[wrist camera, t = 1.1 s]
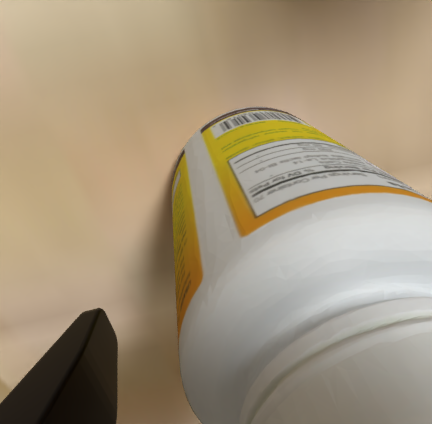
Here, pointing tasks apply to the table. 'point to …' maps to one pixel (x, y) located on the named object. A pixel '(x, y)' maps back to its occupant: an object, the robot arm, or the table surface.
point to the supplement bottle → (299, 278)
